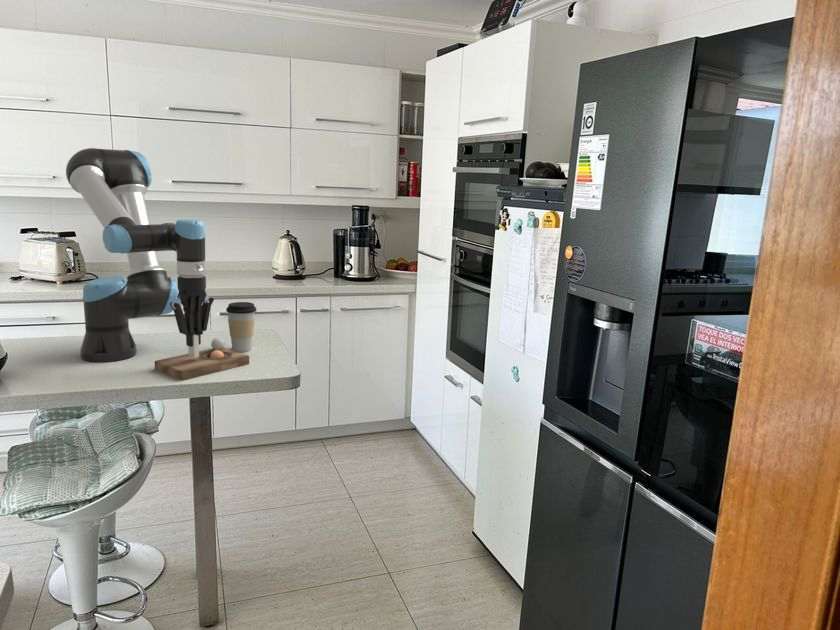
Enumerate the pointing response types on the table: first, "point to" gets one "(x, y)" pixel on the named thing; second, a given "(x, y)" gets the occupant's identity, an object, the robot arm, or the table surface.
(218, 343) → the grey ball
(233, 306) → the coffee cup
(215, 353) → the ball
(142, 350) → the table surface
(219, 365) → the brown wooden board
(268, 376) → the table surface
